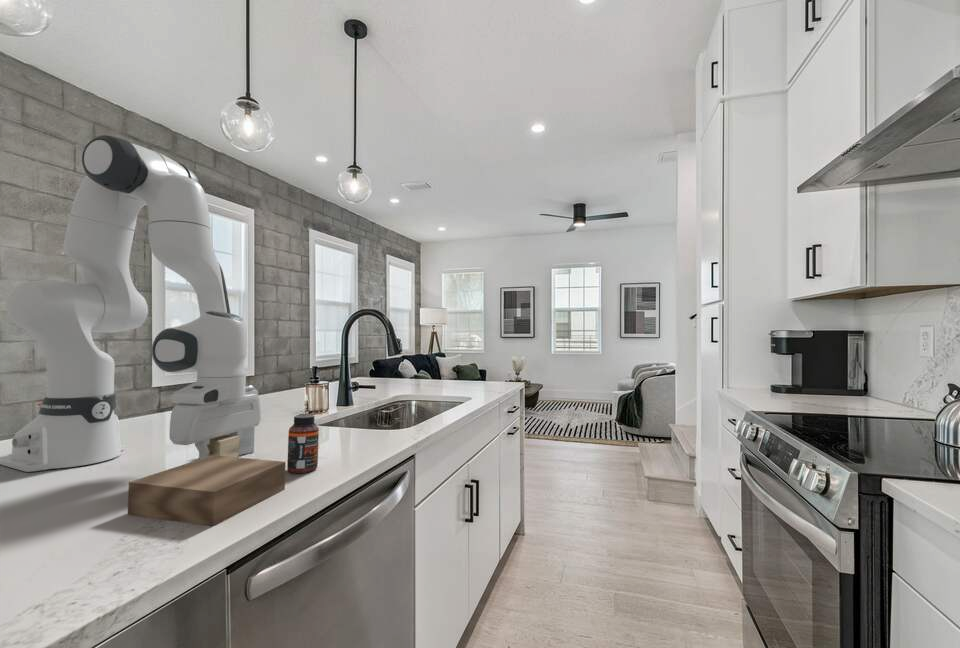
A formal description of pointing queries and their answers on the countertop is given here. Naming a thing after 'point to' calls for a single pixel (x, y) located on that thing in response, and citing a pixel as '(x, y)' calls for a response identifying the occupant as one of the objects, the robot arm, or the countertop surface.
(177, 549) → the countertop surface
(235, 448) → the maple block
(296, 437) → the supplement bottle
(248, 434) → the product box
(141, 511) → the walnut base
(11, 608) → the countertop surface
